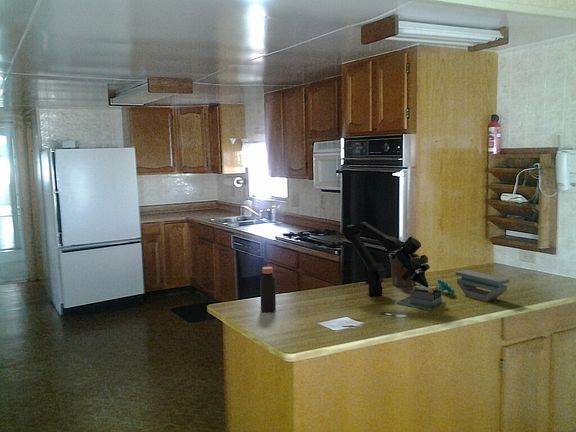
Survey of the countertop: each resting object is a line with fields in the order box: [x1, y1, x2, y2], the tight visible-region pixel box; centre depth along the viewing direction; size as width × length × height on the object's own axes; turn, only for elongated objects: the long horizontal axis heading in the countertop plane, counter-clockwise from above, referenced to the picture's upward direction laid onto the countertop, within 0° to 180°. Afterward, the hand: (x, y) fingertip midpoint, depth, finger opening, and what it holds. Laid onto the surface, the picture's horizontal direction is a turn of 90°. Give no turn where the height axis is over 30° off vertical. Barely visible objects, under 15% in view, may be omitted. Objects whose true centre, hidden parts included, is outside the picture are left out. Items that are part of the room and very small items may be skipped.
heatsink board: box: [396, 283, 446, 311], centre depth 251 cm, size 18×14×9 cm
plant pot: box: [388, 252, 421, 288], centre depth 287 cm, size 16×16×16 cm
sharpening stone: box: [455, 269, 510, 302], centre depth 260 cm, size 25×8×11 cm, turn 32°
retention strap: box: [415, 285, 436, 291], centre depth 249 cm, size 10×3×1 cm, turn 50°
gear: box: [436, 279, 455, 295], centre depth 268 cm, size 11×6×10 cm
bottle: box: [259, 266, 277, 313], centre depth 243 cm, size 7×7×20 cm
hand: (427, 286), depth 248 cm, fingers closed, pressing on retention strap
